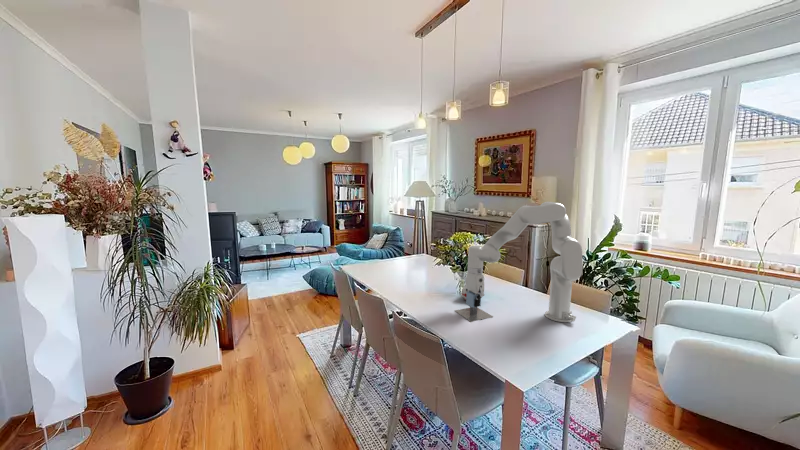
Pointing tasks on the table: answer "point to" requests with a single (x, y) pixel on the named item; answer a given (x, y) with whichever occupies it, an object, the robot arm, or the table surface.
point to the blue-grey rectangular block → (471, 299)
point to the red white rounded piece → (464, 293)
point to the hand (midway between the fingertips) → (473, 303)
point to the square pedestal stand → (473, 314)
